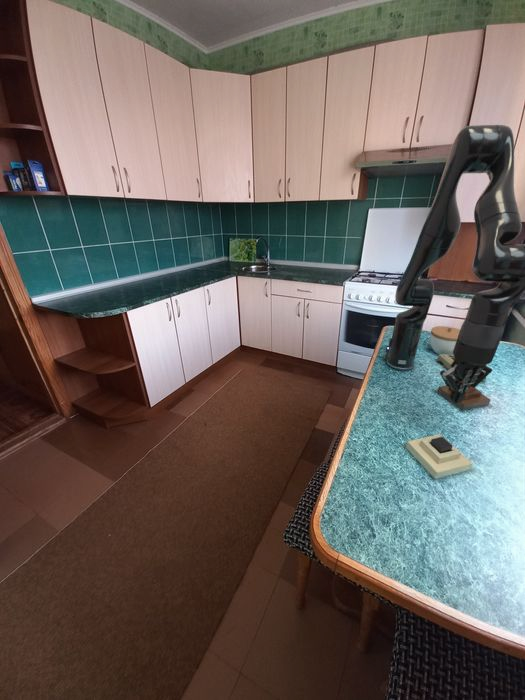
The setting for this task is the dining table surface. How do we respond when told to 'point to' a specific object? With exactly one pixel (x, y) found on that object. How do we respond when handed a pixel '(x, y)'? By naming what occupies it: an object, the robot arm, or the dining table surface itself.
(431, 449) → the beige stepped square base
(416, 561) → the dining table surface
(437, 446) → the key front
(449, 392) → the brown stepped square base
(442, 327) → the lidded bowl
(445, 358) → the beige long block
